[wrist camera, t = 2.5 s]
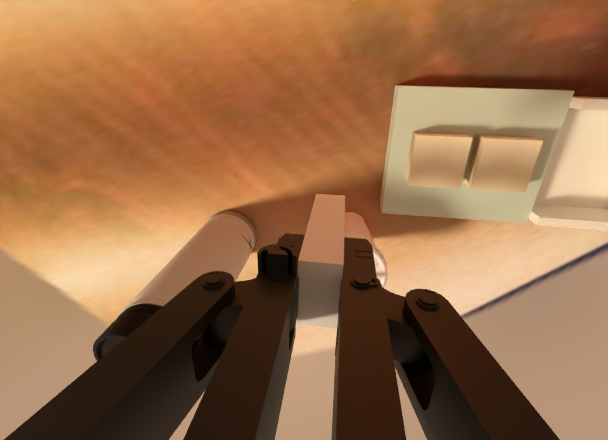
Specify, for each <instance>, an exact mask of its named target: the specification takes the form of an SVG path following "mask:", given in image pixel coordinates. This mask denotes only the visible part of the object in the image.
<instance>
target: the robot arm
mask: <svg viewBox="0 0 608 440" xmlns="http://www.w3.org/2000/svg"><path fill="white" fill-rule="evenodd" d="M344 226H345V195H330V194H316V196H315V200H314V204H313V207H312V211H311V215H310V218H309V222H308V226H307V229H306V233H305V235H300V234H287V233H286V234H285V235H283V236H282V237H281V238H279V240H278V243H277V245H269V246H265V247H263V248H261V249H260V250H259V251H258V252H257V255H258V275H257V277H256V278H255V279H252V280H247V281H239V282H234V277H233V276H232V275H231V274H230V273H227V272H224V271H212V272H208V273H205V274H202V275H201V276H199V277H198V278H196V279H195V280H194V281H193V282H192V283H190V284H189V285H188V286H187V287H186V288H184V289H183V290H182V291H181V292H180V293H178V294H177V295H176V296H175V297H174V298H172V299H171V300H170V301H169V302H168V303H166V304H165V305H164V306H163V307H162V308H160V309H159V310H158V311H157V312H156V313H155V314H153V315H152V316H151V317H150V318H149V319H147V320H146V321H145V322H144V323H143V324H141V325H140V326H139V327H138V328H137V329H135V330H134V331H133V332H132V333H131V334H129V335H128V336H127V337H126V338H125V339H123V340H122V341H121V342H120V343H119V344H118V345H116V346H115V347H114V348H113V349H112V350H110V351H109V352H108V353H107V354H106V355H104V356H103V357H102V358H101V359H100V360H98V361H97V362H96V363H95V364H94V365H93V366H91V367H90V368H89V369H88V370H86V371H85V372H84V373H83V374H82V375H80V376H79V377H78V378H77V379H76V380H75V381H73V382H72V383H71V384H70V385H69V386H67V387H66V388H65V389H64V390H63V391H62V392H60V393H59V394H58V395H57V396H56V397H54V398H53V399H52V400H51V401H49V402H48V403H47V404H46V405H45V406H43V407H42V408H41V409H40V410H39V411H38V412H36V413H35V414H34V415H33V416H32V417H30V418H29V419H28V420H27V421H26V422H24V423H23V424H22V425H21V426H20V427H18V428H17V429H16V430H15V431H14V432H13V433H11V434H10V435H9V436H8V437H7V438H5V439H4V440H169V438H170V437H171V436H172V434H173V433H174V432H175V430H176V429H177V428H178V426H179V425H180V424H181V422H182V421H183V419H184V418H185V417H186V415H187V414H188V413H189V411H190V410H191V409H192V407H193V406H194V405H195V403H196V402H197V400H198V399H199V398H200V396H201V395H202V394H203V392H204V391H205V393H204V395H203V397H202V400H201V402H200V404H199V406H198V408H197V410H196V413H195V415H194V417H193V420H192V422H191V424H190V426H189V428H188V430H187V433H186V435H185V437H184V439H183V440H275V435H276V429H277V425H278V420H279V414H280V409H281V404H282V399H283V394H284V389H285V384H286V379H287V374H288V369H289V364H290V359H291V354H292V349H293V344H294V339H295V325H296V319H297V324H301V325H310V326H319V327H328V328H337V338H336V349H335V356H336V357H335V379H334V400H333V421H332V422H333V423H332V440H406V436H405V430H404V423H403V416H402V410H401V404H400V397H399V391H398V385H397V379H396V372H395V368H396V370H397V372H398V375H399V377H400V379H401V381H402V383H403V386H404V388H405V390H406V393H407V395H408V397H409V399H410V402H411V404H412V406H413V409H414V411H415V413H416V415H417V418H418V419H419V422H420V424H421V426H422V429H423V431H424V433H425V436H426V438H427V440H559V438H558V437H557V436H556V434H555V433H554V432H553V431H552V429H551V428H550V427H549V426H548V425H547V423H546V422H545V421H544V420H543V419H542V417H541V416H540V415H539V413H538V412H537V411H536V410H535V408H534V407H533V406H532V405H531V403H530V402H529V401H528V400H527V399H526V397H525V396H524V395H523V393H521V391H520V390H519V388H518V387H517V386H516V385H515V383H514V382H513V381H512V380H511V379H510V377H509V376H508V375H507V374H506V372H505V371H504V370H503V369H502V367H501V366H500V365H499V364H498V362H497V361H496V360H495V359H494V357H493V356H492V355H491V354H490V352H489V351H488V350H487V349H486V347H485V346H484V345H483V344H482V342H481V341H480V340H479V339H478V338H477V336H476V335H475V334H474V333H473V331H472V330H471V329H470V328H469V327H468V325H467V324H466V323H465V321H464V320H463V319H462V318H461V316H460V315H459V314H458V313H457V311H456V310H455V309H454V308H453V306H452V305H451V304H450V303H449V301H448V300H446V299H445V298H444V297H443V296H442V295H440V294H438V293H436V292H434V291H431V290H427V289H414V290H411V291H409V292H408V293H407V294H406V297H403V296H400V295H397V294H394V293H391V292H389V291H387V290H386V289H384V288H383V287H382V284H381V282H380V280H379V279H378V278H377V275H376V268H375V261H374V255H373V248H372V244H371V243H370V242H369V241H368V240H367V239H361V238H348V237H344Z"/></svg>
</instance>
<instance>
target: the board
mask: <svg viewBox="0 0 608 440" xmlns="http://www.w3.org/2000/svg"><path fill="white" fill-rule="evenodd" d="M574 92H575V91H569V90H552V89H516V88H480V87H444V86H407V85H395V92H394V99H393V107H392V114H391V121H390V129H389V136H388V144H387V151H386V159H385V166H384V174H383V181H382V188H381V196H380V203H379V205H380V209H381V213H386V214H400V215H414V216H429V217H443V218H458V219H472V220H487V221H501V222H515V223H527V222H528V220H529V217H530V214H531V211H532V208H533V206H534V203H535V200H536V197H537V195H538V192H539V189H540V186H541V183H542V181H543V178H544V175H545V172H546V170H547V167H548V164H549V161H550V158H551V156H552V153H553V150H554V147H555V145H556V142H557V139H558V136H559V133H560V131H561V128H562V125H563V122H564V120H565V117H566V114H567V111H568V108H569V106H570V103H571V100H572V97H573V95H574ZM413 132H437V133H461V134H466V135H468V136H470V137H472V138H473V139H472V143H471V147H470V151H469V155H468V159H467V163H466V167H465V171H464V175H463V179H462V183H461V187H460V189H456V188H439V187H422V186H409V185H408V184H407V182H406V180H405V176H406V170H407V164H408V158H409V152H410V146H411V140H412V134H413ZM476 134H484V135H508V136H530V137H533V138H536V139H539V140H542V141H543V143H542V146H541V149H540V152H539V155H538V158H537V160H536V163H535V166H534V169H533V172H532V175H531V178H530V181H529V184H528V187H527V190H526V193H522V192H506V191H489V190H472V189H471V188H470V187H469V186H468V185H466V184H465V183H464V182H465V178H466V174H467V170H468V166H469V162H470V158H471V154H472V150H473V146H474V142H475V138H476Z"/></svg>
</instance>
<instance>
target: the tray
mask: <svg viewBox="0 0 608 440" xmlns="http://www.w3.org/2000/svg"><path fill="white" fill-rule="evenodd" d="M529 219H530V220H531V221H532V222H534V223H535V224H536V225H539V226H553V227H568V228H582V229H596V230H608V97H583V96H573V97H572V100H571V103H570V106H569V108H568V111H567V114H566V117H565V120H564V122H563V125H562V128H561V131H560V133H559V136H558V139H557V142H556V145H555V147H554V150H553V153H552V156H551V158H550V161H549V164H548V167H547V170H546V172H545V175H544V178H543V181H542V183H541V186H540V189H539V192H538V195H537V197H536V200H535V203H534V206H533V208H532V211H531V214H530V217H529Z"/></svg>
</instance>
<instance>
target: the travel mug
mask: <svg viewBox="0 0 608 440" xmlns="http://www.w3.org/2000/svg"><path fill="white" fill-rule="evenodd" d="M256 240H257V236H256V231H255V228H254V226H253V225H252V223H251V222H250V221H249V220H248V219H247V218H246V217H244V216H243V215H241V214H239V213H236V212H233V211H223V212H219V213H217V214H215V215H214V216H213V217H212V218H211V219H210V220H209V221H208V222H207V223H206V224H205V225H204V226H203V227H202V228H201V229H200V230H199V231H198V232H197V233H196V234H195V235H194V236H193V238H192V239H191V240H190V241H189V242H188V243H187V244H186V245H185V246H184V247H183V248H182V249H181V250H180V251H179V252H178V253H177V254H176V255H175V256H174V258H173V259H172V260H171V261H170V262H169V263H168V264H167V265H166V266H165V267H164V268H163V269H162V270H161V271H160V272H159V273H158V274H157V275H156V276H155V278H154V279H153V280H152V281H151V282H150V283H149V284H148V285H147V286H146V287H145V288H144V289H143V290H142V291H141V292H140V293H139V294H138V295H137V296H136V297H135V299H134V300H133V301H132V302H131V303H130V304H129V305H128V306H127V307H126V308H125V309H124V310H123V311H122V313H121V314H120V315H119V317H118V318H117V319H116V320H115V321H114V322H113V323H112V324H111V325H110V326H109V327H108V328H107V329H106V330H105V331H104V332H103V333H102V335H101V336H100V337H99V338H98V339H97V340H96V341H95V343H94V345H93V352H94V356H95V358H96V360H97V361H98V360H100V359H101V358H102V357H103V356H104V355H106V354H107V353H108V352H109V351H110V350H112V349H113V348H114V347H115V346H116V345H118V344H119V343H120V342H121V341H122V340H123V339H125V338H126V337H127V336H128V335H129V334H131V333H132V332H133V331H134V330H135V329H137V328H138V327H139V326H140V325H141V324H143V323H144V322H145V321H146V320H147V319H149V318H150V317H151V316H152V315H153V314H155V313H156V312H157V311H158V310H159V309H160V308H162V307H163V306H164V305H165V304H166V303H168V302H169V301H170V300H171V299H172V298H174V297H175V296H176V295H177V294H178V293H180V292H181V291H182V290H183V289H184V288H186V287H187V286H188V285H189V284H190V283H192V282H193V281H194V280H195V279H196V278H198V277H199V276H201V275H202V274H205V273H208V272H212V271H224V272H227V273H230V274H231V275H232V276H233V277H234V282H236V280H237V278H238V276H239V274H240V272H241V270H242V269H243V267H244V265H245V263H246V261H247V259H248V257H249V256H250V254H251V252H252V250H253V248H254V246H255V244H256Z"/></svg>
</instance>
